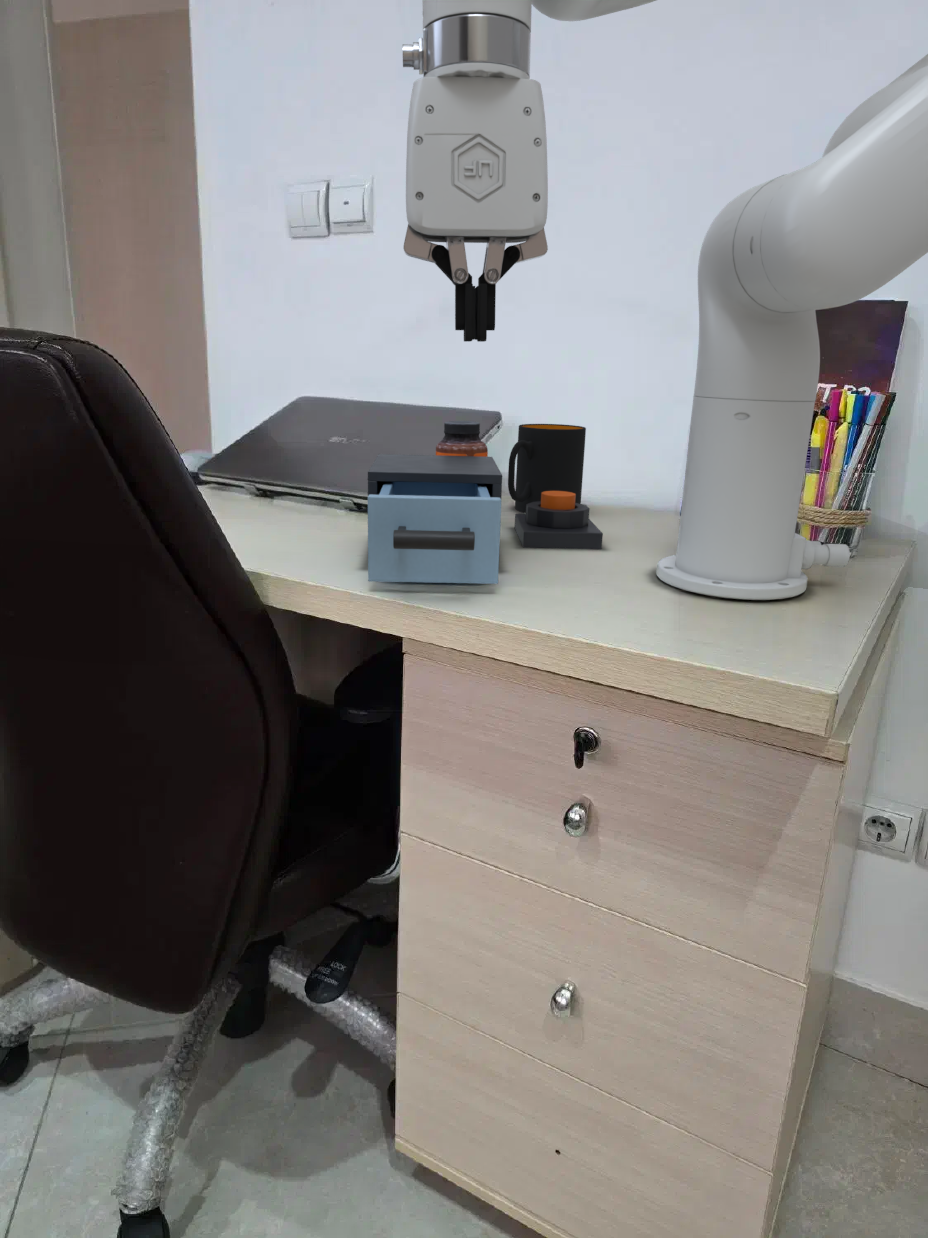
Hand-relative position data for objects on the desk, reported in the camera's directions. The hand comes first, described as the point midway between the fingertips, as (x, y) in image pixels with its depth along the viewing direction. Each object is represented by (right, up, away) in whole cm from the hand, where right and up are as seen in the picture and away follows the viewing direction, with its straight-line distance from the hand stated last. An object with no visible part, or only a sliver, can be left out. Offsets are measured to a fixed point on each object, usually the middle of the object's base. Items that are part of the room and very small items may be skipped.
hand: (474, 340), depth 64 cm
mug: (+9, -8, +40) cm, 42 cm away
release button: (+9, -10, +24) cm, 27 cm away
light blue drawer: (-3, -17, +7) cm, 19 cm away
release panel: (+9, -13, +25) cm, 29 cm away
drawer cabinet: (-4, -15, +17) cm, 23 cm away
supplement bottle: (-1, -10, +32) cm, 34 cm away
